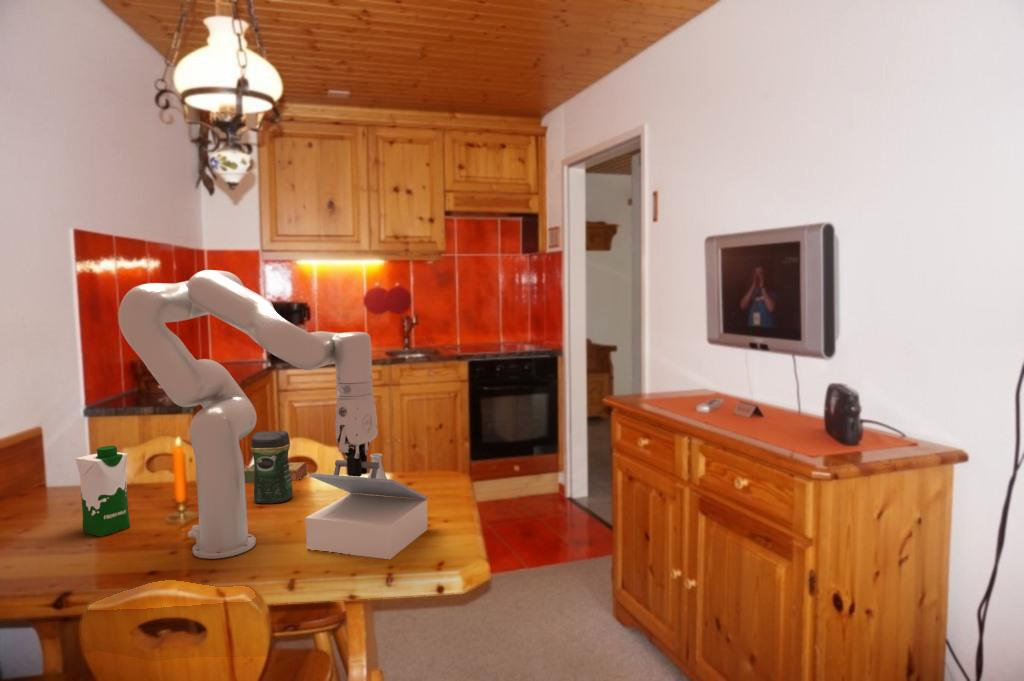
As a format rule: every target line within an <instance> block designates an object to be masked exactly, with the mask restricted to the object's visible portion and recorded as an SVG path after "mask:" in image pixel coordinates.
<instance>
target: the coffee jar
mask: <svg viewBox="0 0 1024 681" xmlns="http://www.w3.org/2000/svg"><path fill="white" fill-rule="evenodd" d="M290 447H291V440H290V436H289V433H288V431H280V430H279V431H278V430H277V431H276V430H274V431H273V430H272V431H271V430H269V431H268V430H267V431H259V432H255V433H254V434H252V436H251V442H250V450H251V451H250V452H251V454H252V456H253V462H254V463H253V464H254V483H253V501H254V502H255V503H256V504H257V503H258V504H277V503H282V502H286V501H289V500H290V499H291V498H292V497H293V495H294V494H293V493H294V492H293V482H291V477H290V470H289V463H290V462H289V450H290Z"/></svg>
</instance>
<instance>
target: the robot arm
mask: <svg viewBox="0 0 1024 681" xmlns="http://www.w3.org/2000/svg"><path fill="white" fill-rule="evenodd" d="M117 315H118V324H119V328H120V329H119V330H120V331H121V333H122V334H121V335H122V336H123V337H124V338H125V340H126V342H127V343H128V345H129V346H130V347H131V348H132V350H133V351H134V352H135V354H136V355H137V356H138V358H140V360H141V361H142V362H143V363H144V365H145V366H146V368H147V370H148V371H149V372H150V373H151V375H152V377H153V378H155V380H156V381H157V383H158V384H159V385H160V387H161V389H162V390H163V391H164V392H165V394H166V395H167V396H168V398H169V399H170V401H172V403H174V404H176V405H177V406H179V407H181V408H189V407H195V406H198V405H200V407H202V409H200V410H199V411H198V412H197V413H196V414H195V415H194V416H193V418H192V420H191V422H190V427H189V438H190V442H191V446H192V451H193V452H192V453H193V457H194V464H195V475H196V476H195V477H196V488H197V506H198V507H197V509H198V522H199V523H198V524H194V525H192V526H191V529H190V530H189V531H188V532H187V537H188V538H196V539H195V540H196V543H195V544H194V545H192V554H193V555H194V556H195V557H197V558H200V559H207V560H215V559H224V558H230V557H234V556H238V555H240V554H243V553H246V552H248V551H249V550H251V549H252V548H254V546H255V545H256V544H257V543H256V536H254V535H253V534H251V533H249V531H248V516H247V515H248V514H247V513H248V512H247V495H246V494H247V492H246V483H245V474H244V471H245V463H244V456H243V454H242V453H243V452H242V449H241V447H240V440H242V439H243V438H245V437H246V436H248V435H249V434H251V433H252V431H253V430H254V429H255V427H256V424H257V420H258V417H257V412H256V409H255V406H254V405H253V403H252V402H251V401H250V399H249V397H248V396H247V395H246V393H245V392H244V391H243V389H242V388H241V387H240V385H239V384H238V383H237V381H235V379H234V378H233V377H232V375H231V374H230V372H229V371H228V369H227V368H225V367H224V366H223V364H220V363H219V362H217V361H215V360H212V359H210V358H209V359H208V358H202V359H196V358H195V357H194V355H193V354H192V353H191V352H190V351H189V350H188V348H187V346H186V345H185V344H184V342H183V341H182V340H181V339H180V338H179V337H178V336H177V335H176V334H175V333H174V332H173V331H171V329H170V328H168V327H167V325H166V323H173V322H174V323H175V322H182V321H187V320H191V319H195V318H198V317H202V316H208V315H211V316H213V317H215V318H217V319H219V320H220V321H222V322H224V323H226V324H228V325H229V326H231V327H234V328H235V329H237V330H239V331H241V332H242V333H244V334H246V335H247V336H249V338H251V340H252V341H254V342H255V343H256V344H258V345H259V346H260V347H261V348H262V349H264V350H265V351H267V352H268V353H270V354H272V355H273V356H275V357H276V358H278V359H280V360H282V361H283V362H286V363H288V364H289V365H291V366H294V367H295V368H298V369H301V370H306V371H313V370H317V369H319V368H321V367H325V366H328V365H334V364H335V387H336V388H335V389H336V390H335V391H336V405H335V406H336V407H335V423H334V425H335V428H334V429H335V440H336V443H337V444H338V452H339V453H343V454H344V458H345V459H346V460H347V467H346V470H347V471H346V472H347V473H346V474H347V476H352V477H362V475H365V474H367V473H368V468H362V467H361V461H364V462H368V454H369V446H370V444H371V443H372V441H373V440H374V439H376V438H377V436H378V435H379V429H378V428H379V427H378V417H377V406H376V402H375V401H376V400H375V397H374V394H373V393H374V392H373V368H372V367H373V360H372V340H371V339H372V338H371V335H370V334H369V333H367V332H365V331H348V332H332V331H323V330H321V331H313V332H308V331H306V330H305V329H303V328H301V327H299V326H297V325H295V324H294V323H292V322H290V321H288V320H287V319H285V318H284V317H283V316H281V315H280V314H279V313H277V311H276V309H275V307H274V305H273V303H272V302H271V301H270V300H269V299H268V298H266V297H264V296H263V295H260V294H259V293H257V292H256V291H253V290H251V289H250V288H247V287H245V286H244V283H243V282H242V280H241V278H239V277H238V276H237V275H236V274H234V273H232V272H230V271H225V270H214V269H204V270H200V271H198V272H196V273H195V274H194V275H192V276H191V277H190V278H189V280H185V281H181V282H177V283H166V282H165V283H163V282H162V283H161V282H159V283H158V282H153V283H152V282H147V283H144V284H139V285H137V286H133V287H132V288H131V289H130V290H128V291H127V292H126V294H125V295H124V296H123V298H122V300H121V302H120V305H119V309H118V314H117Z"/></svg>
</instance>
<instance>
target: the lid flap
mask: <svg viewBox="0 0 1024 681" xmlns="http://www.w3.org/2000/svg"><path fill="white" fill-rule="evenodd" d="M334 462H335V463H334V465H335V468H334V471H333V474H325V473H324V474H322V473H309V477H310V478H313V479H315V480H318V481H321V482H323V483H325V484H328V485H330V486H333V487H335V488H337V489H340V490H342V491H345V492H346V493H347V492H348V494H350V493H353V494H365V495H377V496H389V497H401V498H413V499H425V500H428V496H427V495H424V494H422V493H420V492H419V491H416V490H415V489H413V488H410V487H408V486H406V485H404V484H403V483H400V482H398V481H397V480H394V479H391V478H387V479H379V478H376V474H377V470H378V468H379V463H378V462H372V461H367V462H364V461H361V467H362V468H367V469H372V473H371V478H368V477H364V476H360V477H356V476H348V475H340V471H341V467H345V468H347V459H346V460H345V459H335V461H334Z"/></svg>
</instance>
